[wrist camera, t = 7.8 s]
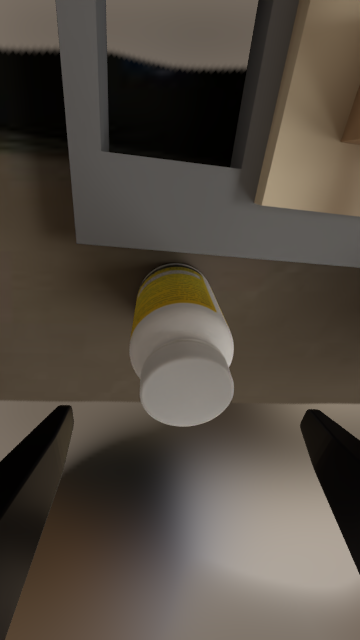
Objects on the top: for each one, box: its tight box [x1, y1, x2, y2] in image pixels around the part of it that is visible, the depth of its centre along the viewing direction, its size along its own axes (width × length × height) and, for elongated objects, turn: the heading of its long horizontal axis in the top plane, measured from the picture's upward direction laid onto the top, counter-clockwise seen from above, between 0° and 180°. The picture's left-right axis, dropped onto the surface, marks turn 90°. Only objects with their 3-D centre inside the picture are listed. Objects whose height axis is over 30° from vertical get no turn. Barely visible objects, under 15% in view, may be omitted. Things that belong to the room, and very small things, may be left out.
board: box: [56, 0, 360, 268], centre depth 13 cm, size 20×16×2 cm
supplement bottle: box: [130, 263, 234, 426], centre depth 15 cm, size 5×5×10 cm
